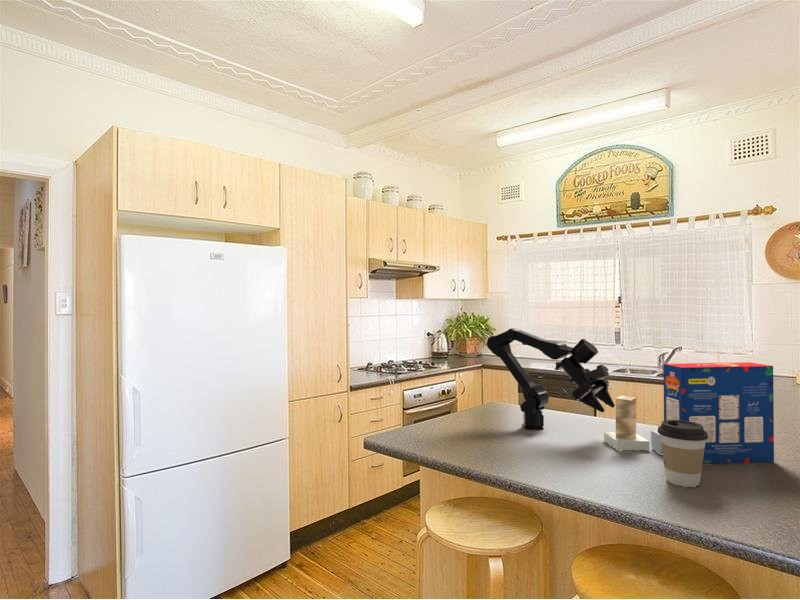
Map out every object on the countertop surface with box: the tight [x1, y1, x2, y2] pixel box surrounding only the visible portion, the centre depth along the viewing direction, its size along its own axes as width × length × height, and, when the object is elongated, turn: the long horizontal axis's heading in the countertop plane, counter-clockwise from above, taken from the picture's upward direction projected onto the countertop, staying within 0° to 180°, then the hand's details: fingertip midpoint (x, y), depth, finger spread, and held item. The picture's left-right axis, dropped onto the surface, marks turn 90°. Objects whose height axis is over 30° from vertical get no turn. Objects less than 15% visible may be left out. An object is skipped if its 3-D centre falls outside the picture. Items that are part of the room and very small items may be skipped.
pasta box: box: [663, 361, 775, 465], centre depth 138 cm, size 28×8×28 cm, turn 95°
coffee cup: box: [656, 420, 708, 488], centre depth 120 cm, size 11×11×15 cm
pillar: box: [615, 395, 637, 440], centre depth 150 cm, size 4×6×12 cm
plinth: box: [603, 431, 651, 451], centre depth 151 cm, size 10×10×4 cm
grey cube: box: [650, 430, 663, 455], centre depth 144 cm, size 6×6×6 cm
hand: (608, 409), depth 154 cm, fingers open, 9 cm apart
